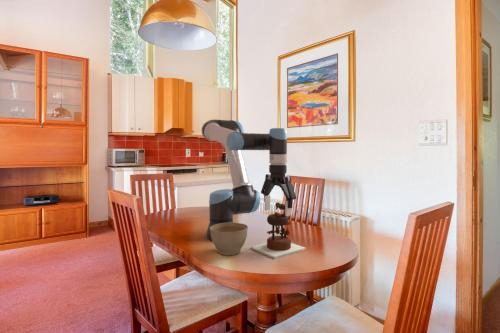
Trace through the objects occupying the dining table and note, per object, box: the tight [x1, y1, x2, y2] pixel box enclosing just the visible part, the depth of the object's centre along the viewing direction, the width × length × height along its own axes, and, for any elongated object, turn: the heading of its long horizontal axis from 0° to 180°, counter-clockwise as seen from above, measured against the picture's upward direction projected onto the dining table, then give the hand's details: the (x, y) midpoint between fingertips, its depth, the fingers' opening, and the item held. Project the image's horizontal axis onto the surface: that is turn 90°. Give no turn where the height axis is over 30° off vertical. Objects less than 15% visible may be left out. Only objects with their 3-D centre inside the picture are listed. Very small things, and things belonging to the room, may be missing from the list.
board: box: [250, 242, 307, 259], centre depth 131 cm, size 16×18×1 cm
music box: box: [266, 201, 293, 251], centre depth 130 cm, size 15×11×20 cm
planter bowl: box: [210, 222, 249, 256], centre depth 127 cm, size 16×16×11 cm
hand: (277, 212), depth 130 cm, fingers open, 13 cm apart
